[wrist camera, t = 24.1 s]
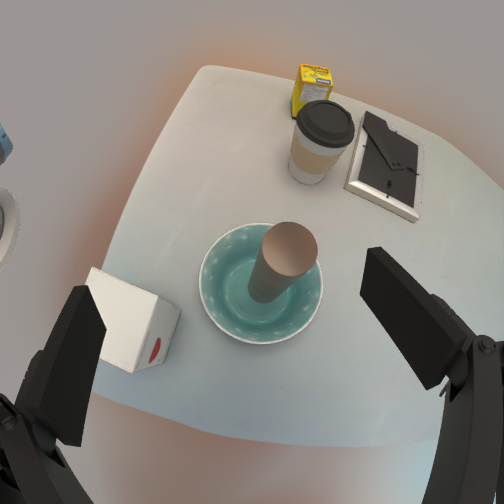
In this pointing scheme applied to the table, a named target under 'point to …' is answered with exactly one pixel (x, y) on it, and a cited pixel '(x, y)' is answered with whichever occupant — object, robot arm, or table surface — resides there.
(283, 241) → the tall brown cylinder
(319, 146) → the coffee cup
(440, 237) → the table surface
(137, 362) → the white product box
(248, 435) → the table surface
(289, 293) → the bowl
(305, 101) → the supplement box
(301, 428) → the table surface
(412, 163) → the picture frame
